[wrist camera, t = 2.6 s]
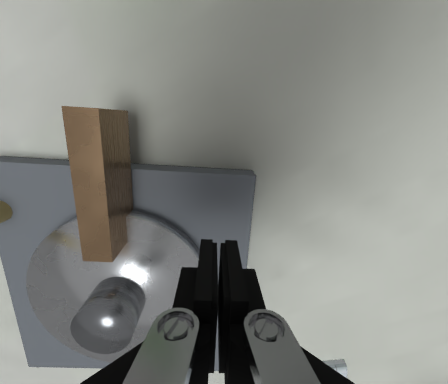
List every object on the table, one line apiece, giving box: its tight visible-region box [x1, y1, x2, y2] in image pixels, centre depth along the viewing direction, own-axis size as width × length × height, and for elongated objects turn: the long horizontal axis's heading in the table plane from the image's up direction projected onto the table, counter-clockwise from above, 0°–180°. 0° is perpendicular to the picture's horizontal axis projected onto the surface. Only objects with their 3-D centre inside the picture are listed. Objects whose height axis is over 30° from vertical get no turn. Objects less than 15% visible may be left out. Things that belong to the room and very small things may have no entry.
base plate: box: [0, 156, 256, 371], centre depth 19 cm, size 20×20×6 cm
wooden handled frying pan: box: [26, 106, 200, 363], centre depth 17 cm, size 21×14×4 cm, turn 176°
